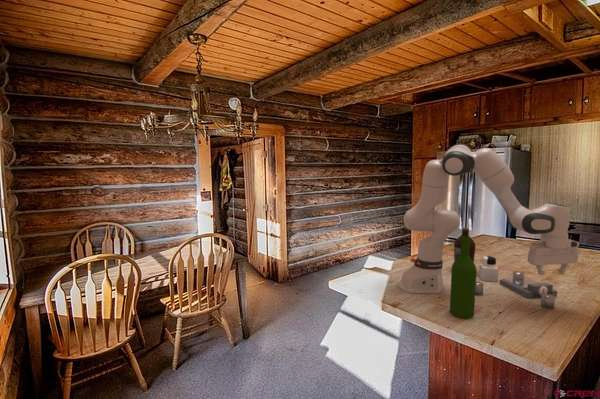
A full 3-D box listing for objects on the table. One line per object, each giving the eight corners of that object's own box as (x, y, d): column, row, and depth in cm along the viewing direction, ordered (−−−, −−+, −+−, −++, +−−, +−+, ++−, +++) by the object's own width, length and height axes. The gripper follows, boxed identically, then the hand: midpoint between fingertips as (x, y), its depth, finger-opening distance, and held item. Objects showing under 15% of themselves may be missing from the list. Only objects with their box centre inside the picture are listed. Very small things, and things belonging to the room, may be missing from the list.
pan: (522, 289, 148) (522, 287, 148) (503, 280, 160) (503, 278, 160) (547, 287, 150) (547, 286, 150) (526, 278, 162) (526, 276, 162)
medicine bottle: (493, 277, 171) (494, 255, 169) (497, 282, 164) (499, 259, 163) (478, 276, 173) (479, 254, 171) (482, 280, 166) (483, 258, 165)
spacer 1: (473, 294, 149) (473, 283, 149) (471, 291, 153) (471, 281, 153) (484, 295, 147) (484, 284, 147) (481, 292, 152) (482, 281, 151)
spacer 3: (547, 309, 134) (548, 298, 133) (538, 304, 138) (539, 293, 138) (556, 308, 134) (558, 297, 134) (547, 304, 139) (548, 293, 138)
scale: (528, 298, 144) (529, 287, 143) (499, 284, 161) (500, 273, 160) (557, 296, 146) (558, 285, 145) (525, 282, 163) (526, 272, 163)
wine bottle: (466, 308, 136) (470, 233, 132) (478, 318, 127) (483, 239, 123) (445, 308, 135) (449, 234, 131) (456, 319, 126) (460, 239, 122)
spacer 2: (526, 283, 152) (526, 273, 152) (517, 284, 152) (518, 274, 151) (518, 280, 157) (519, 270, 156) (510, 281, 156) (510, 271, 156)
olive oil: (463, 267, 186) (465, 225, 183) (478, 273, 176) (481, 229, 173) (448, 269, 183) (450, 227, 180) (463, 276, 173) (465, 231, 170)
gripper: (537, 244, 128) (535, 277, 129) (583, 242, 130) (580, 275, 131) (524, 240, 134) (522, 272, 135) (568, 239, 136) (565, 270, 138)
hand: (551, 274), depth 133 cm, fingers open, 8 cm apart
